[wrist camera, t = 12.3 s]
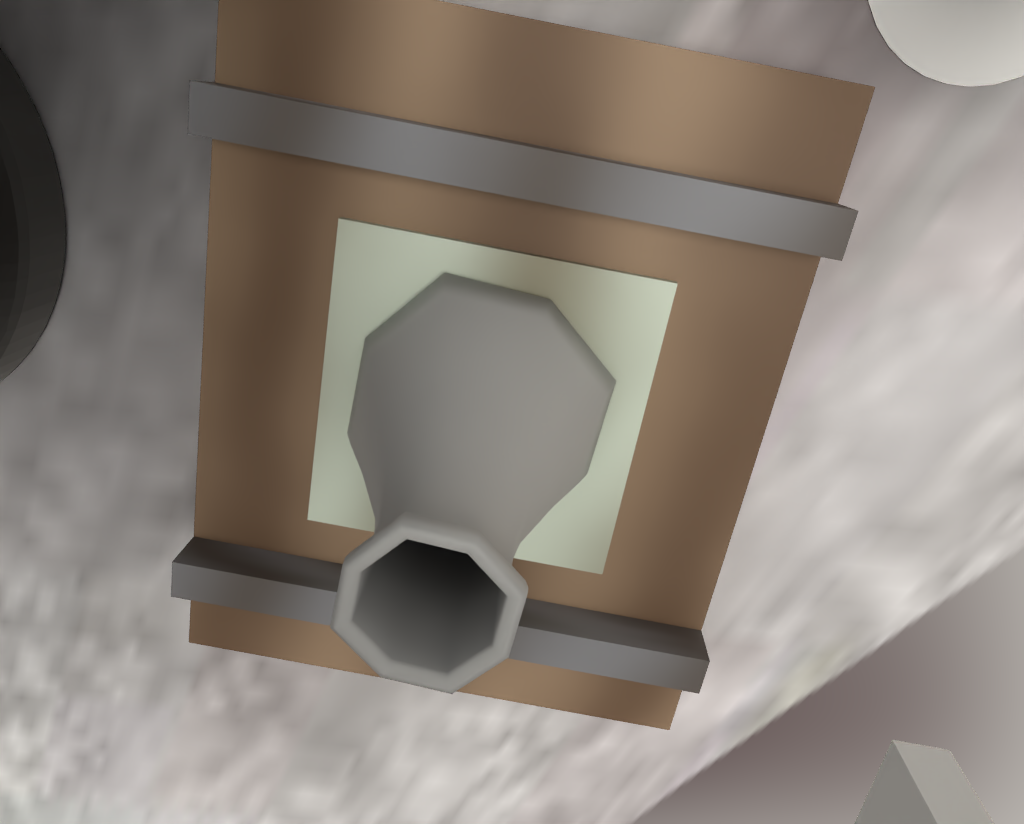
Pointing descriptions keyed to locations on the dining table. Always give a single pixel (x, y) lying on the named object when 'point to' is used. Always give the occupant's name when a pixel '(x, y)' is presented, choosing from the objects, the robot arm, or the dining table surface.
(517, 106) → the dock
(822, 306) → the dining table surface
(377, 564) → the flask
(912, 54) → the champagne flute
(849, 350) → the dining table surface
